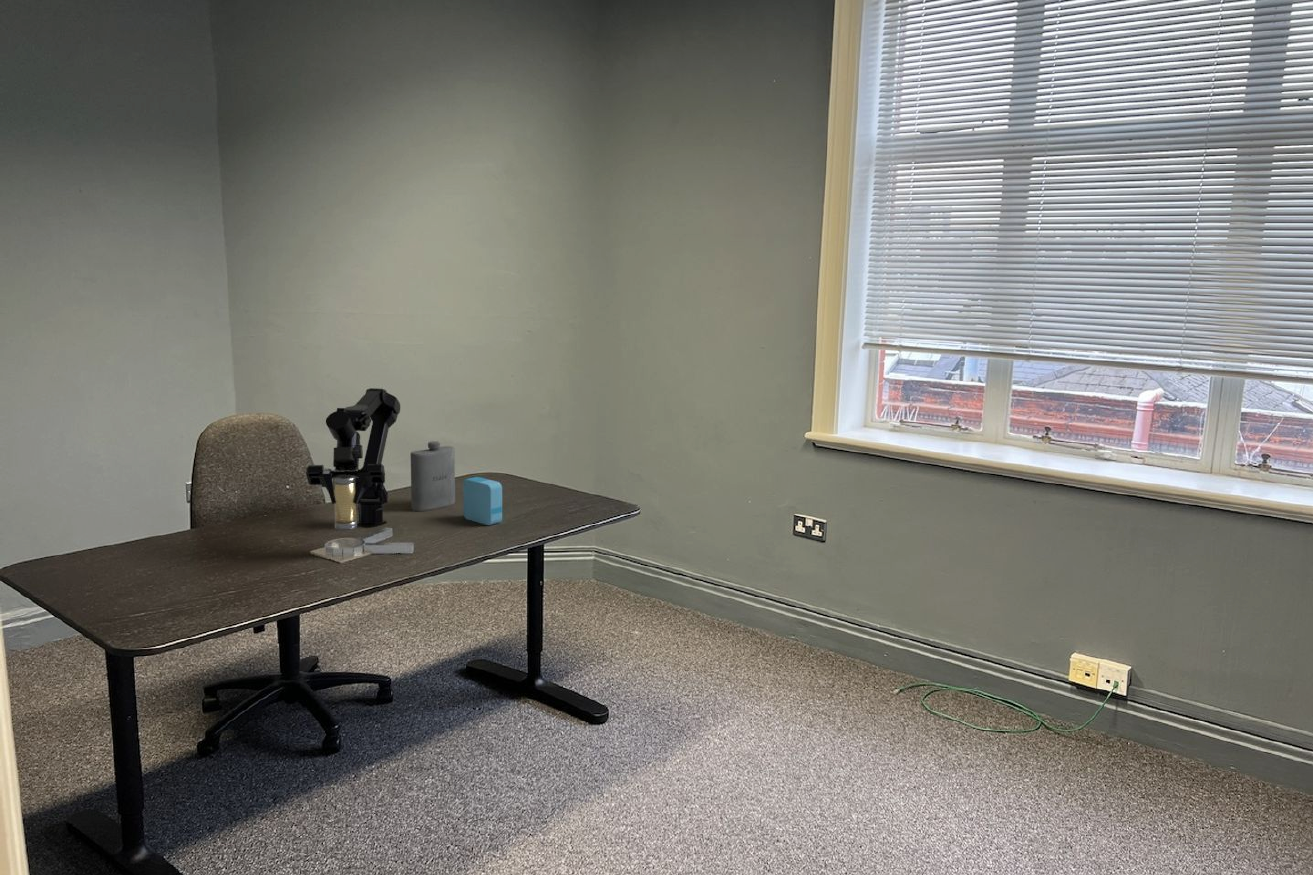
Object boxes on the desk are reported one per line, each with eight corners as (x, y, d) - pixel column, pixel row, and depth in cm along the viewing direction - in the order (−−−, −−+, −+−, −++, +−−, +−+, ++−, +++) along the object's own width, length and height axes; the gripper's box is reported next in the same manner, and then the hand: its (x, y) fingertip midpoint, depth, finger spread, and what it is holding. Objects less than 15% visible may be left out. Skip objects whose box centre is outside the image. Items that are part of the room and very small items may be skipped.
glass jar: (330, 527, 234) (328, 477, 231) (347, 522, 238) (345, 473, 236) (344, 531, 231) (342, 480, 228) (361, 526, 235) (360, 476, 233)
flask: (420, 513, 274) (419, 446, 270) (408, 509, 277) (406, 443, 273) (460, 503, 285) (459, 440, 281) (448, 500, 289) (447, 437, 285)
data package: (502, 523, 266) (502, 482, 263) (490, 526, 262) (490, 485, 260) (474, 515, 273) (474, 475, 271) (462, 518, 270) (462, 478, 267)
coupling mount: (310, 553, 234) (309, 544, 234) (382, 533, 253) (382, 524, 252) (361, 569, 223) (360, 559, 223) (432, 547, 242) (432, 538, 242)
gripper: (305, 433, 232) (300, 487, 223) (382, 433, 236) (380, 486, 227) (311, 457, 241) (306, 510, 232) (386, 456, 245) (384, 508, 236)
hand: (344, 503), depth 232 cm, fingers closed on glass jar, 5 cm apart
